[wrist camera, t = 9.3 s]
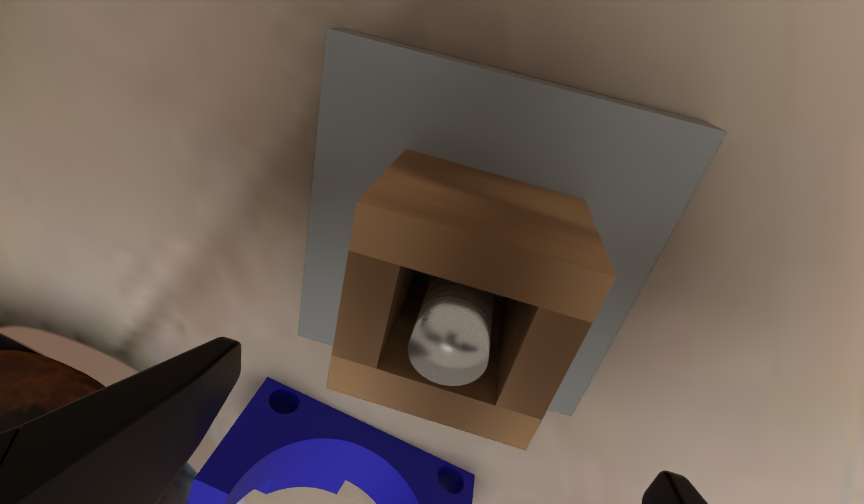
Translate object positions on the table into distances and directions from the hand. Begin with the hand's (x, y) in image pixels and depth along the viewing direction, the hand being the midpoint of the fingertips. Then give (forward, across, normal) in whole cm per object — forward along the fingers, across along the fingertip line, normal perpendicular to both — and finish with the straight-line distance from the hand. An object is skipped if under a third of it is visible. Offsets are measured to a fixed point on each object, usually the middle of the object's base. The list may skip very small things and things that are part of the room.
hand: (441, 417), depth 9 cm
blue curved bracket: (+9, +3, +14) cm, 17 cm away
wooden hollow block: (+7, 0, 0) cm, 7 cm away
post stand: (+9, 0, 0) cm, 9 cm away
